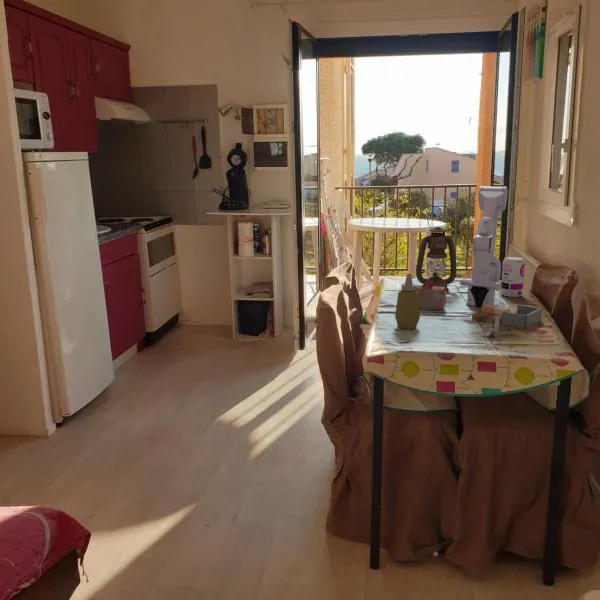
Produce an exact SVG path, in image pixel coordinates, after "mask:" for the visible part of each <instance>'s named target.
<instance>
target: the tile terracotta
mask: <svg viewBox="0 0 600 600" xmlns="http://www.w3.org/2000/svg"><path fill="white" fill-rule="evenodd" d="M498 306H499V305H490V304H487V305H484V306H482V309H481V310H482V312H486V313H492V314H493V313H494V308H496V307H498Z"/></svg>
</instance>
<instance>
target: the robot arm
mask: <svg viewBox="0 0 600 600" xmlns="http://www.w3.org/2000/svg"><path fill="white" fill-rule="evenodd" d="M508 192H509V191H508V186H506V185H505V186H489V185H487V186H485V185H480V187H479V188H478V194H477V195H478V196H477V201H478V206H479V210H481V211H482V218H480V219H479V220H478V223H477V228H476V233H475V236H473V239H472V257H473V261H472V268H471V279H465V278H462V279H459V286H467V296H466V297H467V298H466V303H465V305H468V306H473V307H475V309H478V310H479V309H481V308H482V306H484V305H487V304H490V305H496V306H499V303H496V302H495V299H496V298H495V297H496V292H497V291H498V292H499V291H500V292H501V283H500V284H499V283H498V282H499V281H500V280H501V274H502V273H501V272H502V271H501V269H502V268H501V267H502V266H501V265H502V263H501V260H500V259H498V258H497V257H496V256H495V250H496V249H495V248H496V243H497V242H496V241H497V233H498V232H497V229H498V221H499V216H500V214H501V212H502V213H503V212H504V211H505V210H506V208H507V200H508Z"/></svg>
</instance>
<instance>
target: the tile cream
mask: <svg viewBox="0 0 600 600" xmlns="http://www.w3.org/2000/svg"><path fill="white" fill-rule="evenodd" d="M497 306H498V307H496V308H494V314H498V315H502V312H509V313H510V310H511V307H508V306H501V305H497Z"/></svg>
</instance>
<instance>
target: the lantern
mask: <svg viewBox="0 0 600 600" xmlns="http://www.w3.org/2000/svg"><path fill="white" fill-rule="evenodd" d="M437 207H438V208H439V207H440V208H441V207H442V208H443V207H444V208H446V209H447V212H448V223H447V226H446V227H440V226H435V227H431V226H430V223H429V221H427V225H428V228H430V229H428V231H429V232H430V235H426V236H424V237H423V238H422V240H421V243H420V245H419V249H418V250H419V251H418V255H417V262H416V266H415V267H416V268H415V277H416V279H417V281H418V283H420V284H421V285H423V283H425V282H429V283H433V286H435V287H445V289H446V294H448V293H449V292H450V291H449V290H450V289H449V288H448V285H450V284H452V283H453V282H454V281H455V279H456V276H457V269H458V268H457V259H456V247H455V243H454V242H455V241H454V240H453V238H451V237H450V236H448V235H446V232H448V229H447V228H448V227H449V225H450V222H451V221H450V220H451V218H450V217H451V216H450V214H451V213H450V209H449V208H448V206H445V205H433V206H431V207H430V209H429V211H428V214H427V220H429V219H430V217H429V216H430V213H431V210H432V208H437ZM427 249H429V251H428V252H427V254H426V250H427ZM446 250H448V254H447V253H446V252H445V251H446ZM425 254H426V270H425V269H423V263H424V259H425ZM448 255H449V264H450V267H449V268H450V271H449V277H447V278H445V276H446V273H448V272H447V270H446V269H447V265H448V264H447V262H448ZM429 259H430V260H429ZM443 259H444V260H443ZM425 272H426V276H427V277H429V278H425V277H424V276H423V275H422V274H425ZM443 278H444V279H443ZM447 292H448V293H447Z"/></svg>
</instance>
